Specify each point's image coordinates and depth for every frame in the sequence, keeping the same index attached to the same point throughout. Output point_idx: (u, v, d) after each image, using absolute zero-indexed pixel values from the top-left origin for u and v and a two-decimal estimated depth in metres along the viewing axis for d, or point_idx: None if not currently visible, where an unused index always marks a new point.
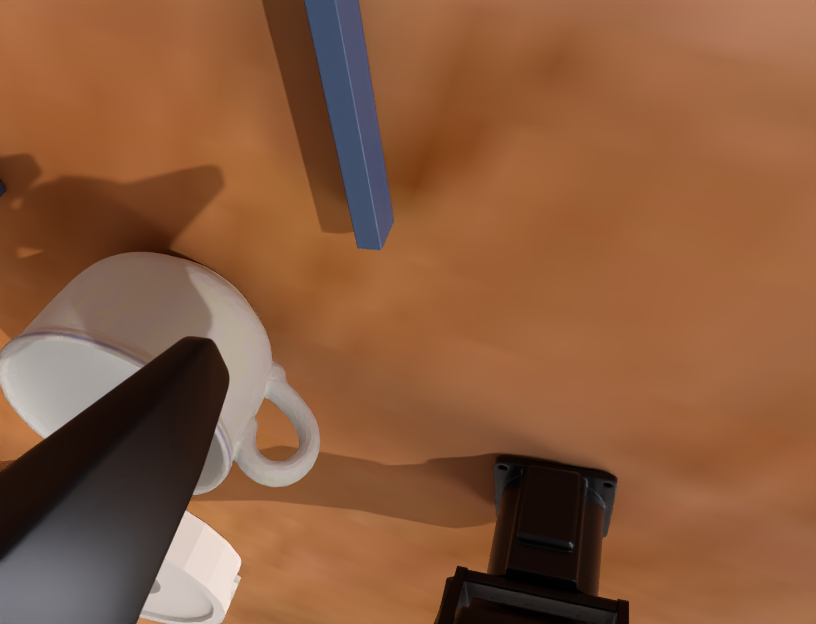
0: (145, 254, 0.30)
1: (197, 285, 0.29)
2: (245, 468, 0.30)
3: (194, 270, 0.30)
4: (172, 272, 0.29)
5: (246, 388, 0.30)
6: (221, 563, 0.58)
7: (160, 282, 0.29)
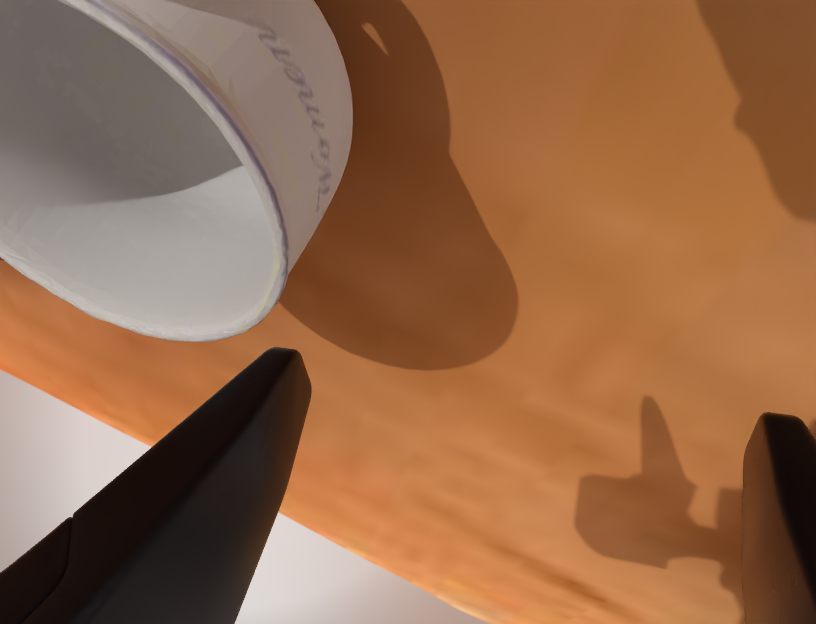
0: None
1: None
2: None
3: None
4: None
5: None
6: None
7: None
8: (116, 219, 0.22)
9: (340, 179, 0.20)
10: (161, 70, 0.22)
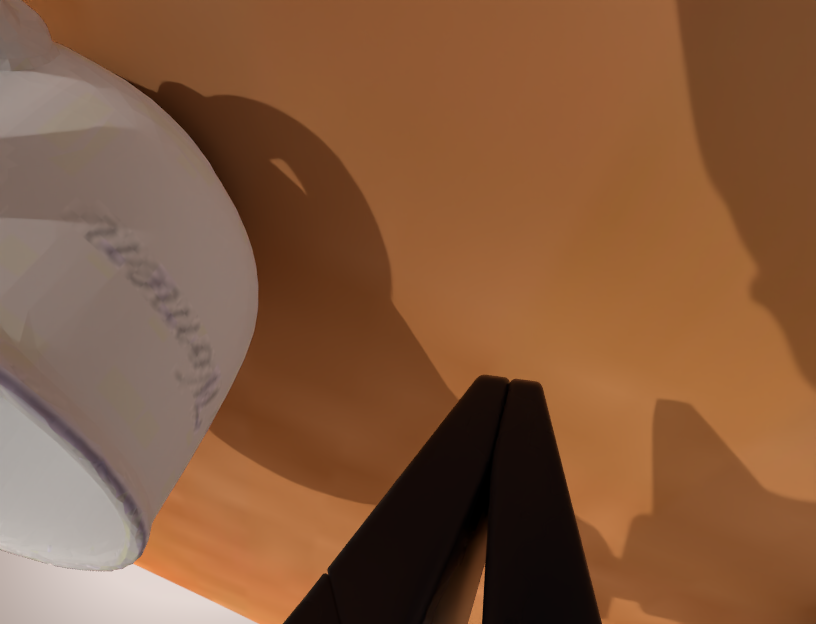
0: None
1: None
2: None
3: None
4: None
5: None
6: None
7: None
8: None
9: (242, 360, 0.15)
10: None
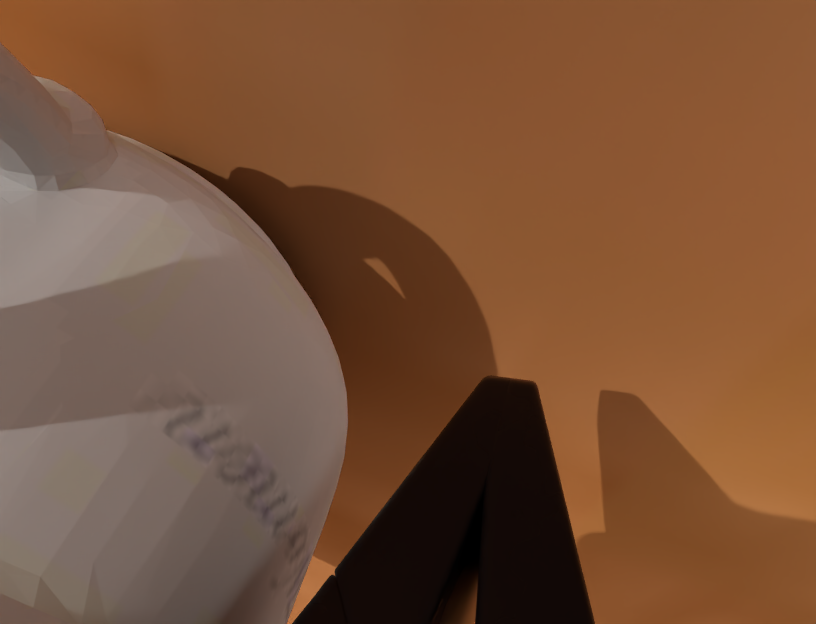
0: None
1: None
2: None
3: None
4: None
5: None
6: None
7: None
8: None
9: None
10: None
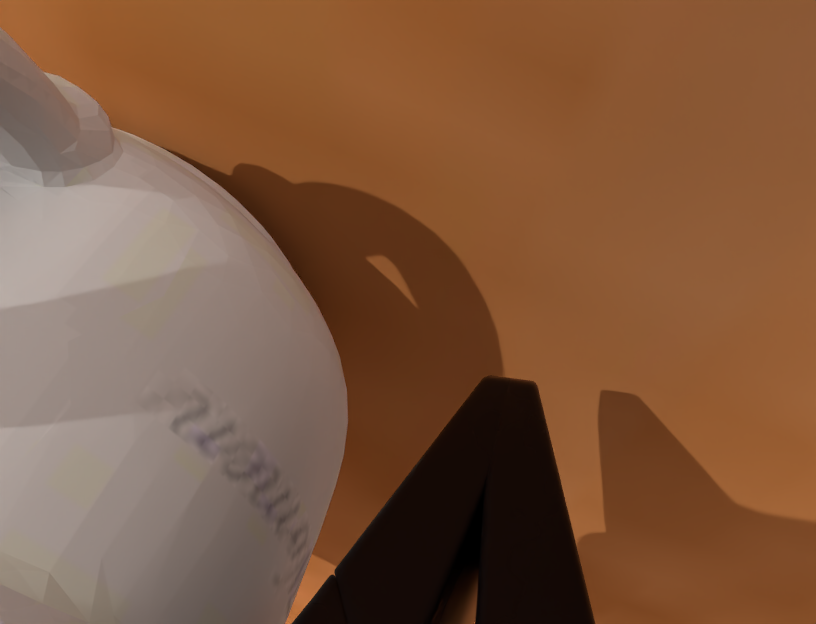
0: None
1: None
2: None
3: None
4: None
5: None
6: None
7: None
8: None
9: None
10: None
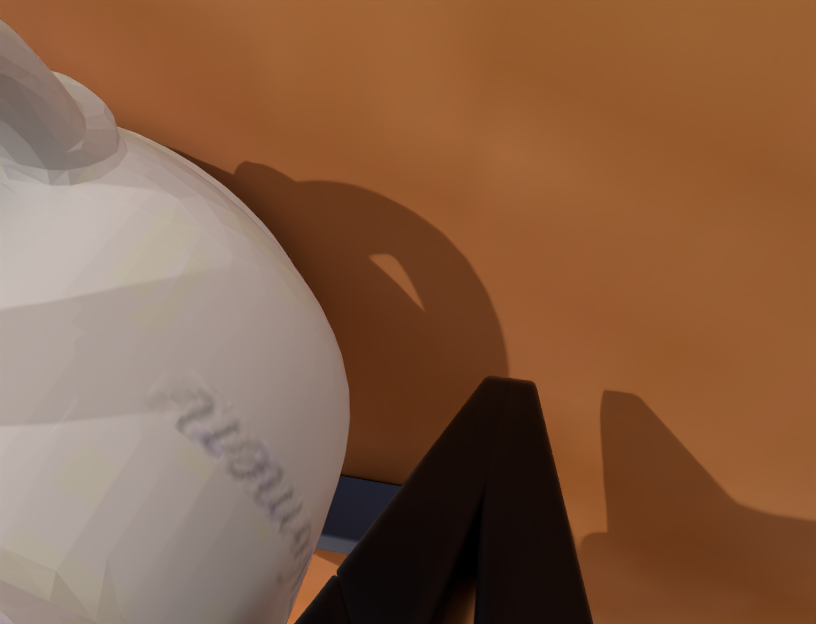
0: None
1: None
2: None
3: None
4: None
5: None
6: None
7: None
8: None
9: None
10: None
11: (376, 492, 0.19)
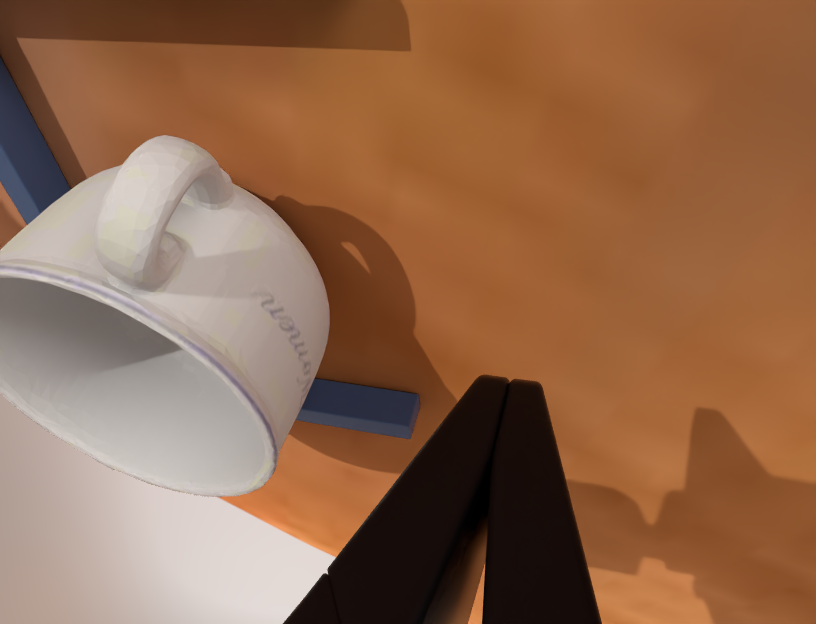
0: None
1: None
2: (117, 276, 0.17)
3: None
4: None
5: (92, 214, 0.19)
6: None
7: None
8: (128, 377, 0.27)
9: None
10: None
11: (347, 388, 0.31)
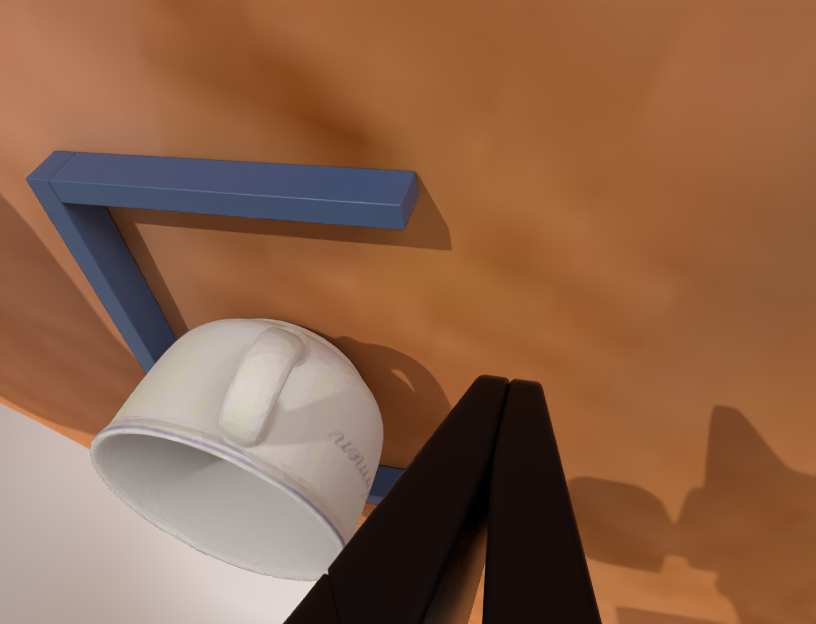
0: None
1: None
2: (233, 441, 0.23)
3: None
4: None
5: (204, 376, 0.25)
6: None
7: None
8: (214, 475, 0.32)
9: None
10: None
11: (392, 473, 0.36)
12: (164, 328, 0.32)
